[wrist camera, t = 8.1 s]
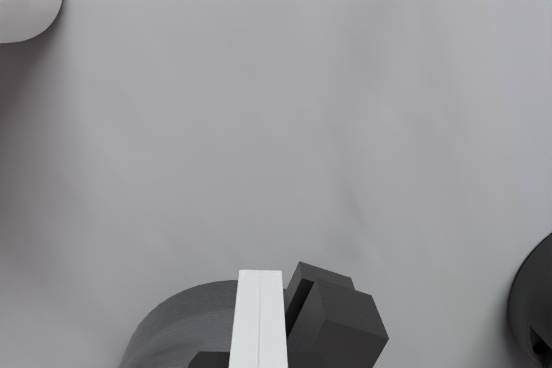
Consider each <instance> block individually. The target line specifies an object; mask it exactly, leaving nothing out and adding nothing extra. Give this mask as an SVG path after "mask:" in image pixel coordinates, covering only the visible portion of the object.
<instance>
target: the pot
mask: <svg viewBox="0 0 552 368" xmlns="http://www.w3.org/2000/svg"><path fill="white" fill-rule="evenodd" d="M316 278H319V279H322V280H325V281H328V282H331V283H334V284H338V285H341V286H344V287H347V288H350V289H353V290H355V288H354V285H353V282H352V280H351V278H349V277H346V276H343V275H340V274H337V273H334V272H331V271H328V270H325V269H321V268H318V267H315V266H312V265H309V264H306V263H303V262H300V261H299V263H298V265H297V268H296V270H295V272H294V274H293V277H292V279H291V281H290V283H289V286H288V288H287V290H286V289H283V300H284V316H285V332H286V341H287V339H288V337H289V334H290V332H291V330H292V328H293V326H294V324H295V322H296V320H297V318H298V316H299V313H300V311H301V309H302V307H303V305H304V303H305V301H306V299H307V297H308V295H309V293H310V290H311V288H312V286H313V284H314V282H315V280H316ZM237 288H238V280H229V281H219V282H212V283H207V284H203V285H198V286H196V287H193V288H190V289H187V290H184V291H182V292H180V293H178V294H176V295H174V296H172V297H170V298H169V299H167V300H166V301H164V302H163V303H161V304H159V305H158V306H157V307H156V308H155V309H154V310H152V311H151V312H150V313H149V314H148V315H147V316H146V317H145V319H144V320H143V321H142V322H141V323H140V325H139V326H138V328H137V329H136V331H135V333H134V334H133V336H132V339H131V341H130V343H129V346H128V348H127V351H126V353H125V355H124V358H123V360H122V363H121V365H120V367H119V368H188V365H189V363H190V362H191V360H192V359H193V358H194V357H195V355H196V354H197V353H198V352H199V351H209V352H231V342H232V333H233V324H234V315H235V306H236V297H237Z"/></svg>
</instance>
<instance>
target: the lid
mask: <svg viewBox="0 0 552 368" xmlns="http://www.w3.org/2000/svg"><path fill="white" fill-rule="evenodd" d="M388 340H389V338H388V335H387V333H386V330H385V328H384V325H383V323H382V320H381V318H380V315H379V313H378V310H377V308H376V305H375V303H374V300H373V298H372V295H368V294H365V293H362V292H359V291H356V290H353V289H350V288H347V287H344V286H341V285H338V284H334V283H331V282H328V281H325V280H322V279H319V278H316V280H315V282H314V284H313V286H312V288H311V290H310V293H309V295H308V297H307V299H306V301H305V303H304V305H303V307H302V309H301V311H300V313H299V316H298V318H297V320H296V322H295V324H294V326H293V328H292V330H291V332H290V334H289V337H288V339H287V341H286V347H287V352H318V353H319V354H320V355H321V357H322V358H323V360H324V361H325V362H326V364H327V366H328V368H373V366H374V364H375V362H376V361H377V359H378V357H379V355H380V354H381V352H382V350H383V348H384V347H385V345H386V343H387V341H388Z"/></svg>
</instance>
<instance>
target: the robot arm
mask: <svg viewBox="0 0 552 368" xmlns="http://www.w3.org/2000/svg"><path fill="white" fill-rule="evenodd" d="M509 320H510V325H511V329H512V332H513V334H514V337H515V338H516V340H517V342H518V343H519V345H520V346H521V348H522V349H523V350H524V351H525V353H526V354H527V355H528V356H529V358H530V359H531V360H532V361H533V362H534V364H535V365H536V366H537V367H538V368H552V234H551V235H550V236H549V237H547V238H546V239H545V240H544V241H543V242H542V243H541V244H540V245H539V246H538V247H537V248H536V249H535V250H534V251H533V253H532V254H531V255H530V256H529V258H528V259H527V260H526V262H525V263H524V265H523V266H522V268H521V270H520V272H519V274H518V276H517V278H516V280H515V282H514V285H513V288H512V291H511V295H510V301H509ZM188 368H328V366H327V364H326V362H325V361H324V360H323V358H322V357H321V355H320V354H319V353H318V352H287V347H286V332H285V316H284V300H283V285H282V271H272V270H239V279H238V288H237V297H236V306H235V315H234V324H233V333H232V342H231V352H209V351H199V352H198V353H197V354H196V355H195V357H194V358H193V359H192V360H191V362H190V363H189V365H188Z"/></svg>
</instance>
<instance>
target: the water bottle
mask: <svg viewBox="0 0 552 368" xmlns="http://www.w3.org/2000/svg"><path fill="white" fill-rule="evenodd" d="M61 3H62V0H0V43H12V42H20V41H24V40H28V39H31V38H33V37H35V36H37V35H39V34H40V33H42V32H43V31H44V30H46V29H47V28H48V27H49V26H50V25H51V24H52V22H53V21H54V19H55V18H56V16H57V14H58V12H59V10H60V7H61Z"/></svg>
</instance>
